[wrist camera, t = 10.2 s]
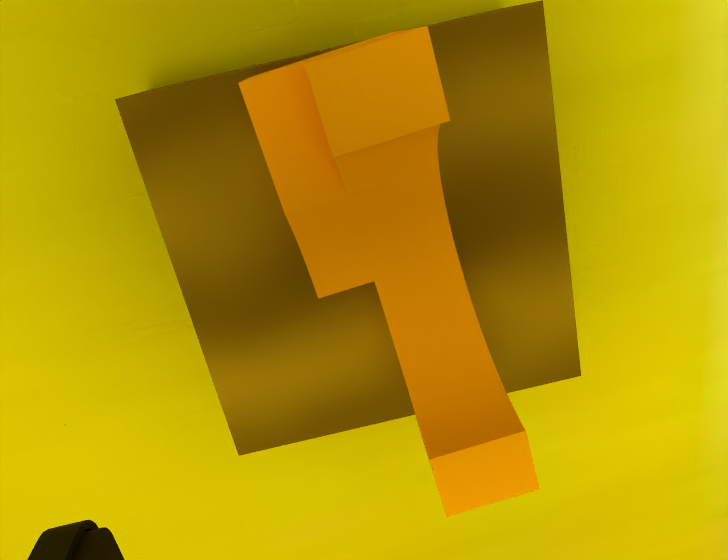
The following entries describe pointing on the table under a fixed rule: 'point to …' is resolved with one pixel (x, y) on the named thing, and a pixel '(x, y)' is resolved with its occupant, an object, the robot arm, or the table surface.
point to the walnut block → (362, 303)
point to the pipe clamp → (393, 241)
